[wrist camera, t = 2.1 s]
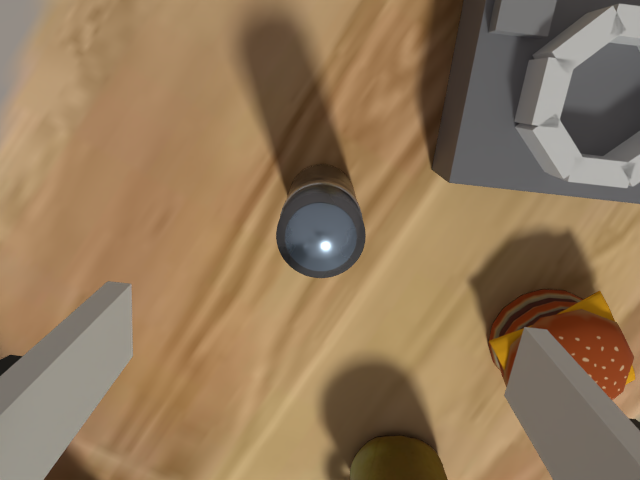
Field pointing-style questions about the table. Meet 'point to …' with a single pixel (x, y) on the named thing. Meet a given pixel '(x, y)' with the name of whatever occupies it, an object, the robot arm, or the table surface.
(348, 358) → the table surface
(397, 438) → the mug
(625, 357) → the hamburger
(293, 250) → the lens
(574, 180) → the camera body
